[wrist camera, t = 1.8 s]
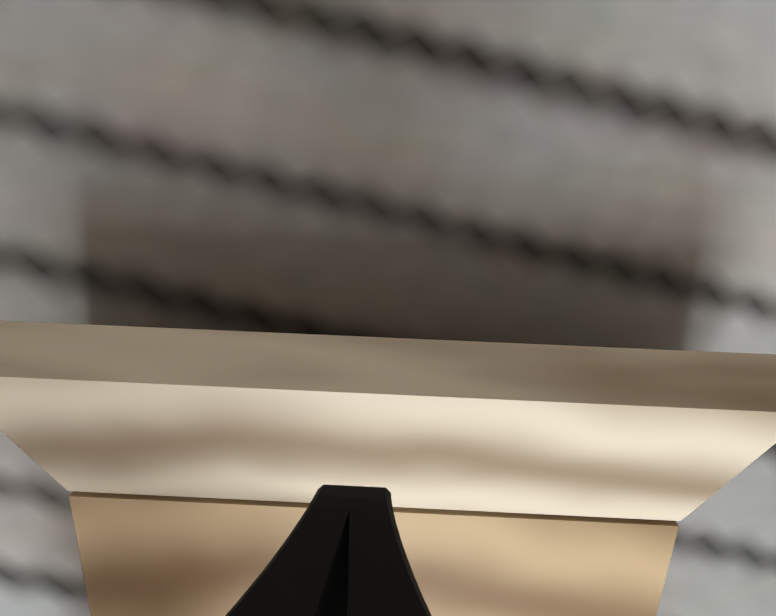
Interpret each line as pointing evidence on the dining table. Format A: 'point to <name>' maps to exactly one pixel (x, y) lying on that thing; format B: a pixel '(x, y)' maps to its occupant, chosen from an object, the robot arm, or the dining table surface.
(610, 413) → the maple plank
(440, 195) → the dining table surface
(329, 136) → the dining table surface
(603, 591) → the board
